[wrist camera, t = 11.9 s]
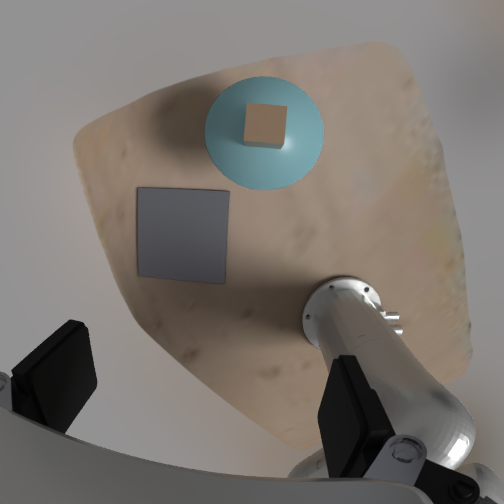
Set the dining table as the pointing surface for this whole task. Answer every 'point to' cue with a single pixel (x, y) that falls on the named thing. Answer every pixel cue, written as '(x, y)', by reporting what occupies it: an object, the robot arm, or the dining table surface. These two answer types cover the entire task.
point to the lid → (264, 133)
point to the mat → (182, 234)
